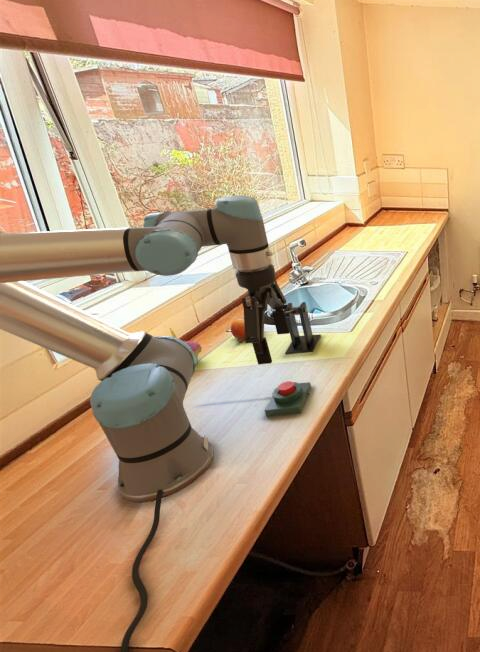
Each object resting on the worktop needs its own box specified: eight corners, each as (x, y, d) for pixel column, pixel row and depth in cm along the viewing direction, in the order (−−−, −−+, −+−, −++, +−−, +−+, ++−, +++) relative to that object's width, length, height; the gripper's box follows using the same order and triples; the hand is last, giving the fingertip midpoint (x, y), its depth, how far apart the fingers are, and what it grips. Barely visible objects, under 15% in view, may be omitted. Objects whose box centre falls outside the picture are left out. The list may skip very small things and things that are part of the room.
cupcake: (163, 369, 117) (148, 333, 112) (192, 354, 124) (180, 320, 119) (183, 375, 114) (169, 339, 109) (212, 359, 121) (200, 325, 116)
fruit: (221, 338, 130) (228, 314, 130) (245, 339, 137) (252, 317, 137) (235, 344, 126) (243, 320, 127) (259, 345, 134) (267, 322, 134)
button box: (301, 413, 101) (297, 401, 99) (266, 417, 99) (262, 404, 98) (311, 388, 110) (308, 376, 108) (280, 391, 108) (276, 379, 107)
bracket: (313, 353, 125) (304, 312, 119) (285, 356, 124) (275, 313, 118) (321, 337, 134) (312, 297, 128) (295, 339, 133) (286, 299, 127)
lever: (289, 319, 111) (289, 310, 111) (270, 320, 111) (269, 311, 110) (306, 313, 125) (305, 305, 125) (289, 314, 125) (288, 307, 124)
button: (292, 394, 102) (291, 389, 101) (277, 396, 101) (275, 390, 100) (296, 385, 105) (295, 380, 104) (282, 387, 104) (280, 381, 104)
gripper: (251, 287, 79) (274, 376, 88) (288, 248, 101) (304, 321, 110) (208, 290, 77) (237, 379, 86) (256, 249, 100) (275, 324, 108)
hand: (275, 347), depth 98 cm, fingers open, 13 cm apart
